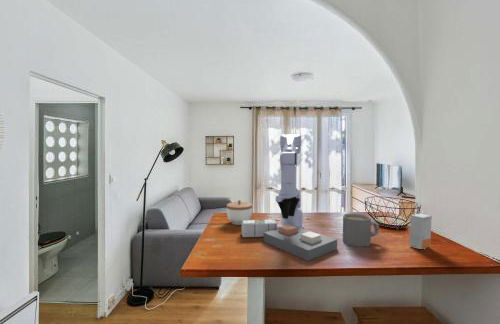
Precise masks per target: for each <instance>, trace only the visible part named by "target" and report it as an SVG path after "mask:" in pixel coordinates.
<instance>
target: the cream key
mask: <svg viewBox="0 0 500 324" xmlns="http://www.w3.org/2000/svg"><path fill="white" fill-rule="evenodd" d="M310 231H311V230H309V232H306V233H303V234H301V241H304V242H307V243H310V244H315V243H318V242H320V241H321V235H320V234H321V233H319V234H316V233H317V232H316V233H313V232H314V231H312V232H310Z"/></svg>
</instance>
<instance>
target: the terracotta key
mask: <svg viewBox="0 0 500 324" xmlns="http://www.w3.org/2000/svg"><path fill="white" fill-rule="evenodd" d="M279 226H280V227H279V232H280V233H282V234H285V235H288V236H289V235H292V234H296V233H297V227H295V226H292V225H288V224H287V225H284V226H281V225H279Z"/></svg>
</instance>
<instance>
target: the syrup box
mask: <svg viewBox="0 0 500 324" xmlns="http://www.w3.org/2000/svg"><path fill="white" fill-rule="evenodd" d="M275 229H278V223H277V221H276V219H249V220H242V225H241V235H242V236H241V237H242V238H261V237H263V238H264V232H267V231H271V230H275Z"/></svg>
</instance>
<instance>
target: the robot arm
mask: <svg viewBox="0 0 500 324" xmlns="http://www.w3.org/2000/svg"><path fill="white" fill-rule="evenodd" d="M279 137H280V138H279V141H280V142H279V146H280V154H279V165H280V190H279V192H278V195H275V202H276V203H277V205H278V207H279V209H280V213H281V225H277V227H278V228H279V227H280V226H284V225H287V224H288V225H294V226H297V227H300V228H303V229H305V226H303V218H304V217H303V211H302V209H301V208H302V207H301V206H302V205H301V202H302V200H301V199H302V198H301V197H302V196H301V191H300V190H299V189H298V188H297V166H298V155H299V154H300V153H301V150H302V148H301V147H302V135H301V134H299V133H298V134H283V133H282V134H280V136H279Z"/></svg>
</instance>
